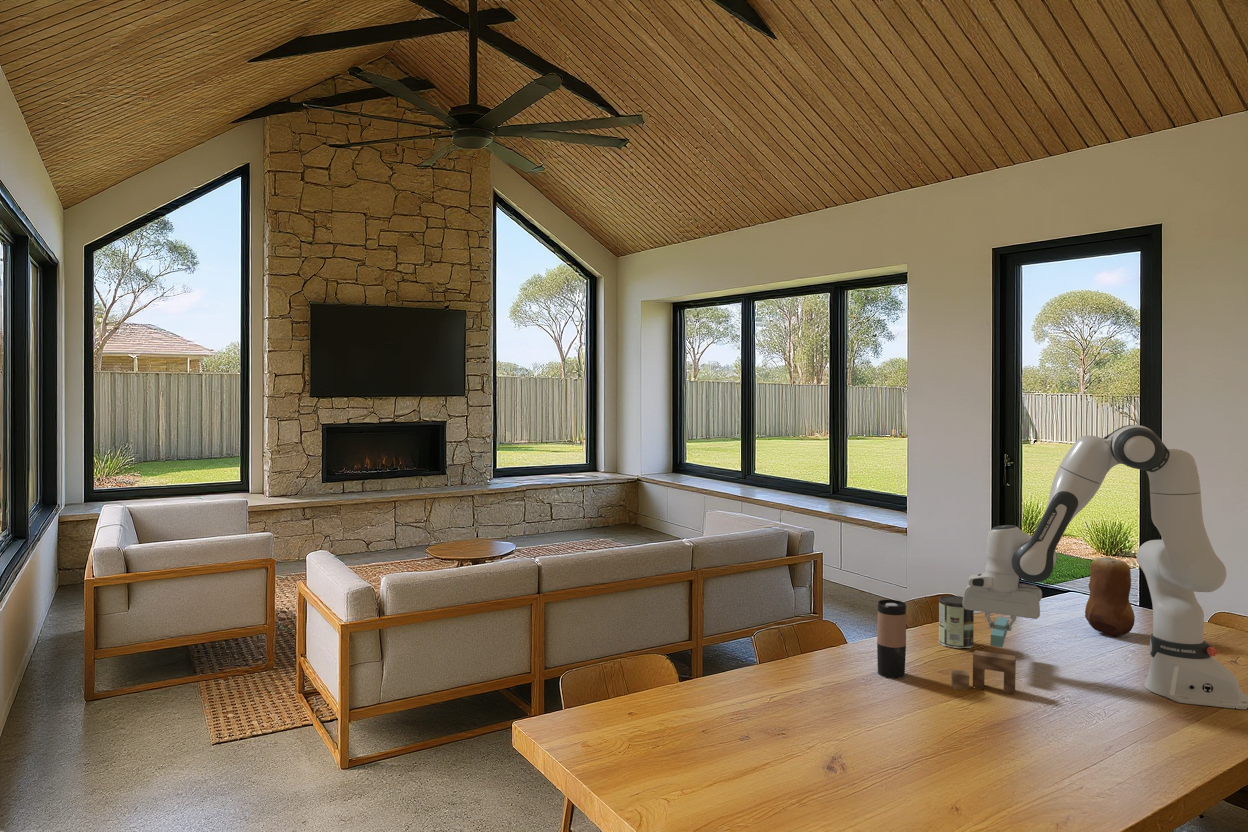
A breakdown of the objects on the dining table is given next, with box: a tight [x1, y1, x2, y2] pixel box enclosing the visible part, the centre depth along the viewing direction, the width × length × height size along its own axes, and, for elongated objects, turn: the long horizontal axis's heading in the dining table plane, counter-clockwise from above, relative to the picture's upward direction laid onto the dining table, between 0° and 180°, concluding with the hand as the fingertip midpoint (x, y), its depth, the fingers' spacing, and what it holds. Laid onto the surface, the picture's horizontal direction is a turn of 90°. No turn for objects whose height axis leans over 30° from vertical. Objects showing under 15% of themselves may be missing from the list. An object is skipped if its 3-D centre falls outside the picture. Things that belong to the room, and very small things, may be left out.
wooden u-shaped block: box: [972, 649, 1017, 695], centre depth 214 cm, size 10×4×9 cm, turn 60°
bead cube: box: [950, 669, 970, 691], centre depth 216 cm, size 4×4×4 cm
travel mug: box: [876, 599, 907, 679], centre depth 225 cm, size 8×8×20 cm
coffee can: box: [938, 595, 975, 649], centre depth 252 cm, size 10×10×14 cm
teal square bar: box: [990, 616, 1010, 648], centre depth 232 cm, size 3×22×3 cm, turn 151°
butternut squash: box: [1084, 556, 1136, 638], centre depth 263 cm, size 14×13×25 cm
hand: (1000, 629), depth 232 cm, fingers closed on teal square bar, 3 cm apart
